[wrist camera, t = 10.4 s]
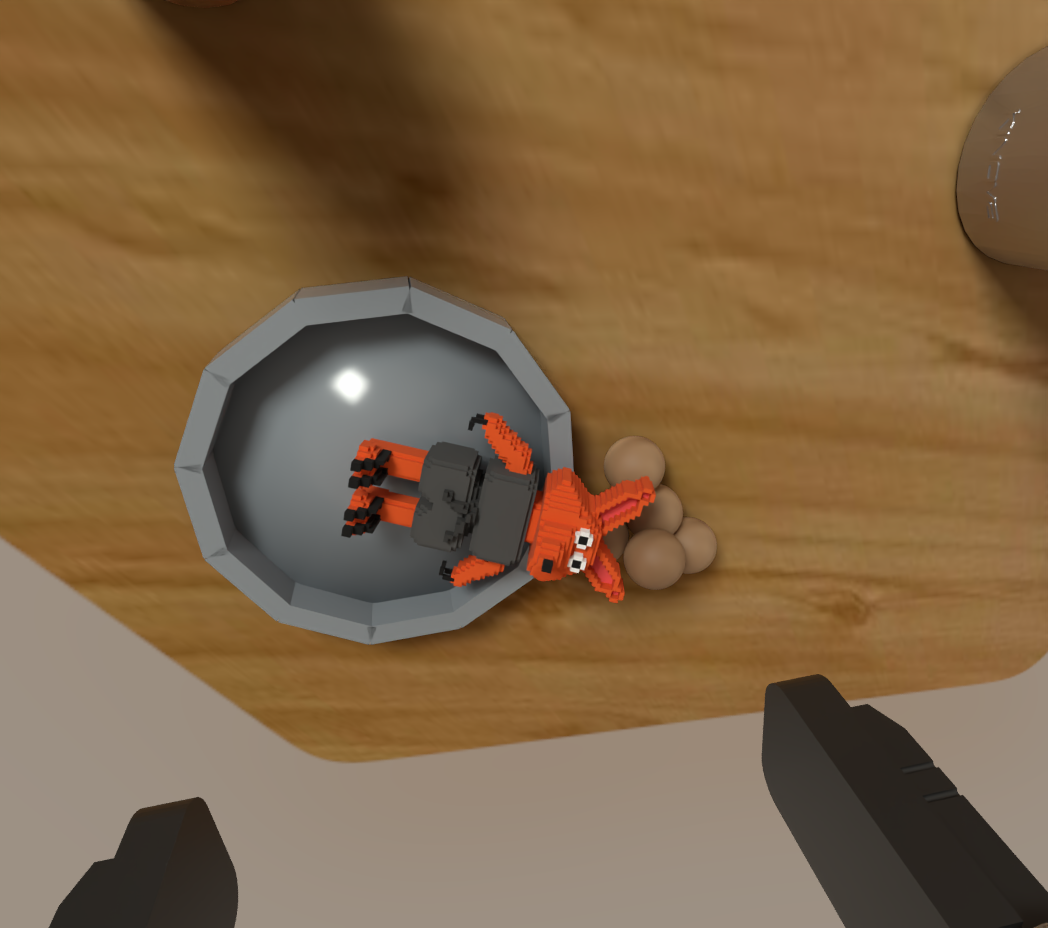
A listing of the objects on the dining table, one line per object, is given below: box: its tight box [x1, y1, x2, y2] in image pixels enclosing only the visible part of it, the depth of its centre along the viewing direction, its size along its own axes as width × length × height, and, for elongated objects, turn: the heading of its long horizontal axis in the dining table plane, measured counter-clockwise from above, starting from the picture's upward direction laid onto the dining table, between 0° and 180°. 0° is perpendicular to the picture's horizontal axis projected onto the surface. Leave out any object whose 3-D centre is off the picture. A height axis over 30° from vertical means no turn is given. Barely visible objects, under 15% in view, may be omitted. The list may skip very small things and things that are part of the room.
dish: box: [174, 276, 574, 645], centre depth 30 cm, size 16×16×2 cm
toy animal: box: [341, 412, 656, 603], centre depth 28 cm, size 8×6×12 cm
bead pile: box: [603, 436, 717, 590], centre depth 32 cm, size 7×8×5 cm
